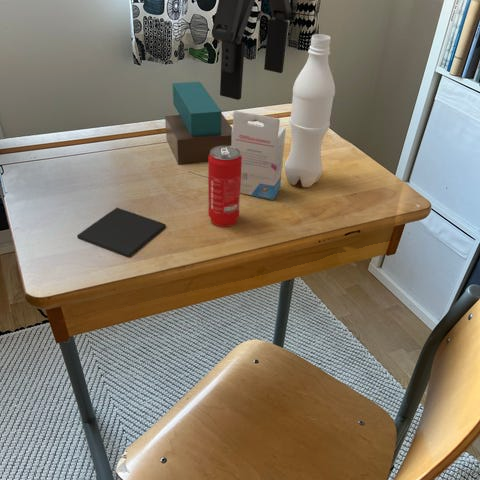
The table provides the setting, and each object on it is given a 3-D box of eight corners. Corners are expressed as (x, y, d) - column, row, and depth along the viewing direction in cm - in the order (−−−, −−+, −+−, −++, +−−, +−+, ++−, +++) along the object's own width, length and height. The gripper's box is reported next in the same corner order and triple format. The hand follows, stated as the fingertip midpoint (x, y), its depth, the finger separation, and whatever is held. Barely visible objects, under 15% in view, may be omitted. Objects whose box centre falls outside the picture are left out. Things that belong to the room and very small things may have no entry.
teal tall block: (171, 101, 112) (170, 80, 109) (198, 99, 113) (198, 79, 110) (191, 136, 99) (190, 113, 96) (221, 133, 101) (221, 111, 98)
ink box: (280, 188, 96) (289, 108, 86) (273, 201, 92) (281, 119, 82) (238, 179, 98) (241, 100, 88) (229, 191, 94) (231, 110, 84)
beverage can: (210, 229, 85) (211, 160, 76) (206, 212, 88) (206, 145, 80) (241, 226, 86) (245, 158, 77) (235, 210, 89) (238, 144, 81)
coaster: (77, 238, 81) (77, 235, 81) (117, 210, 88) (116, 207, 87) (129, 257, 78) (128, 254, 77) (165, 227, 84) (165, 223, 84)
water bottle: (278, 185, 96) (293, 39, 79) (288, 169, 102) (304, 28, 85) (315, 193, 95) (339, 45, 78) (323, 176, 100) (347, 34, 83)
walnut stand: (166, 139, 109) (165, 116, 106) (220, 134, 112) (220, 111, 109) (178, 164, 101) (177, 140, 98) (236, 158, 104) (237, 134, 101)
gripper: (250, -115, 47) (236, 117, 61) (338, -116, 64) (310, 66, 78) (180, -123, 49) (182, 103, 63) (283, -122, 66) (266, 56, 80)
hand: (253, 83), depth 71 cm, fingers open, 13 cm apart
